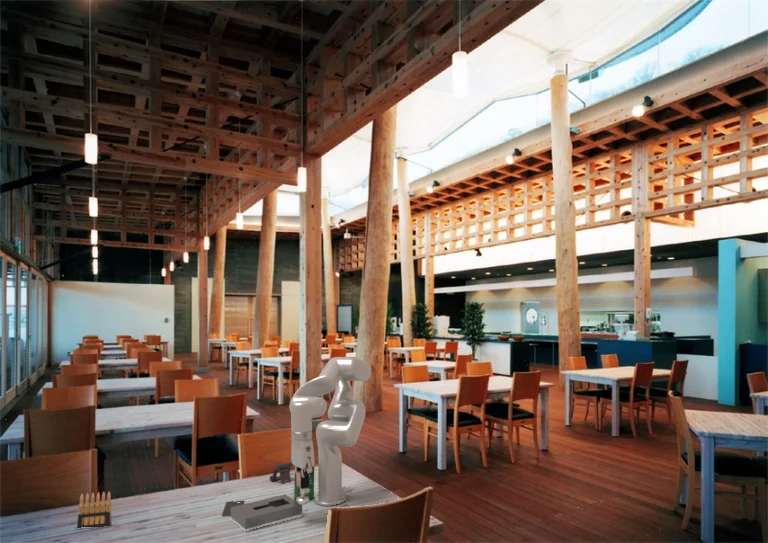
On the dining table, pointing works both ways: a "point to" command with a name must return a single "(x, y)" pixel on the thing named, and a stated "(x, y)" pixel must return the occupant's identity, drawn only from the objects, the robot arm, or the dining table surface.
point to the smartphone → (228, 507)
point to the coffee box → (309, 490)
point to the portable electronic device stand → (282, 472)
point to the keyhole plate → (265, 512)
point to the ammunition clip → (94, 511)
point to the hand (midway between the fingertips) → (302, 485)
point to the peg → (301, 490)
